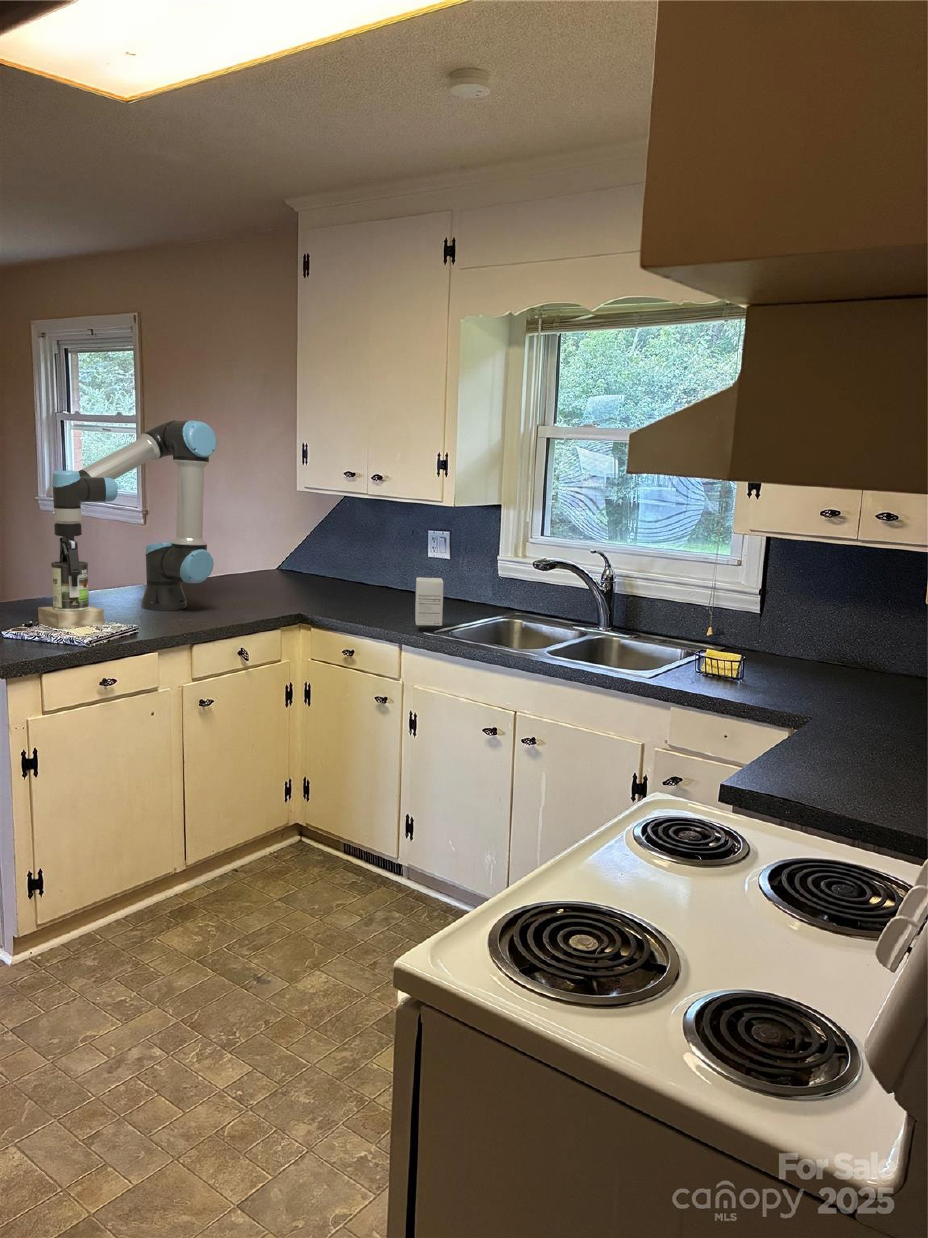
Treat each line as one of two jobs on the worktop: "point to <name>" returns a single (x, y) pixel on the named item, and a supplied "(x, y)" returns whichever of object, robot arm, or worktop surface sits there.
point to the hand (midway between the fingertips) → (70, 594)
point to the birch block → (70, 617)
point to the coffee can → (62, 588)
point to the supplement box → (429, 601)
